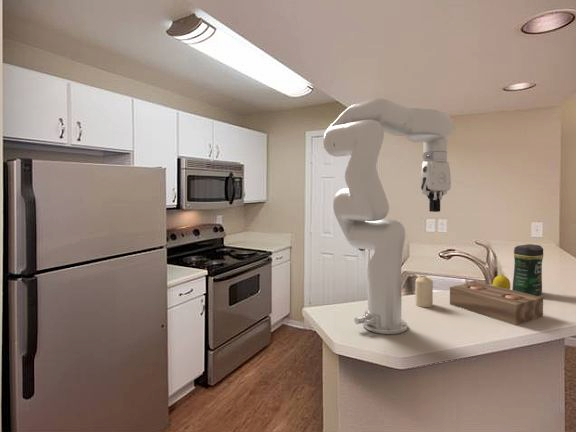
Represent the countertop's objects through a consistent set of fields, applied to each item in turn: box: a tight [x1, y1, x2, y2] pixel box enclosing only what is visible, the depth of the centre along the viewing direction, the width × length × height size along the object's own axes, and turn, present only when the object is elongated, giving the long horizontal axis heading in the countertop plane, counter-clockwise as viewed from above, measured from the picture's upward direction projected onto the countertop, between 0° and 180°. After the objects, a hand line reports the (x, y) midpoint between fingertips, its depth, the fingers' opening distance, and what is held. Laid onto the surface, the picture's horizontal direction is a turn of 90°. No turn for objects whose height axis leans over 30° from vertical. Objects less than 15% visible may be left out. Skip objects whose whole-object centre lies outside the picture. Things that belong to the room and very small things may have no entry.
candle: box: [414, 275, 434, 308], centre depth 120 cm, size 6×6×10 cm
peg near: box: [505, 295, 521, 300], centre depth 108 cm, size 4×4×6 cm
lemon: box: [492, 274, 511, 290], centre depth 128 cm, size 6×6×8 cm
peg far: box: [470, 286, 483, 290], centre depth 119 cm, size 4×4×6 cm
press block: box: [449, 281, 544, 326], centre depth 113 cm, size 14×22×6 cm, turn 27°
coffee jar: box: [511, 243, 544, 296], centre depth 130 cm, size 10×8×19 cm
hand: (434, 211), depth 120 cm, fingers closed
